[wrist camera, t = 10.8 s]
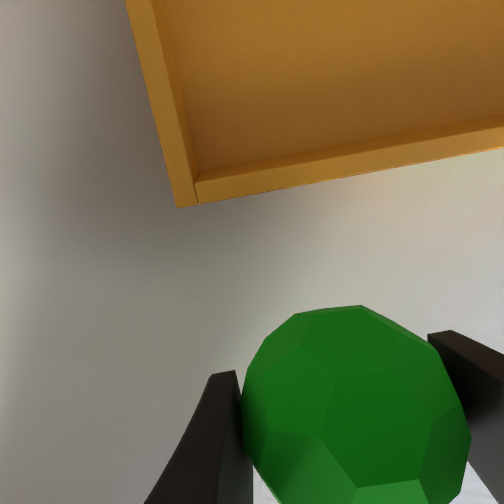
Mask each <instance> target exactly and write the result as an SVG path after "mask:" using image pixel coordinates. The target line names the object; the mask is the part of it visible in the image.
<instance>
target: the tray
mask: <svg viewBox="0 0 504 504" xmlns="http://www.w3.org/2000/svg"><path fill="white" fill-rule="evenodd" d="M124 1H125V5H126V8H127V12H128V16H129V20H130V24H131V28H132V32H133V36H134V40H135V44H136V48H137V52H138V56H139V60H140V64H141V68H142V72H143V76H144V80H145V84H146V88H147V92H148V96H149V100H150V104H151V108H152V112H153V116H154V120H155V124H156V128H157V132H158V136H159V140H160V144H161V148H162V152H163V156H164V160H165V164H166V168H167V172H168V176H169V180H170V183H171V187H172V191H173V195H174V199H175V203H176V207H177V208H183V207H188V206H194V205H197V204H198V203H199V204H205V203H210V202H215V201H221V200H226V199H231V198H237V197H242V196H247V195H253V194H258V193H264V192H269V191H274V190H280V189H285V188H290V187H296V186H301V185H306V184H312V183H317V182H322V181H328V180H333V179H338V178H344V177H349V176H354V175H360V174H365V173H370V172H376V171H381V170H386V169H392V168H397V167H402V166H408V165H413V164H418V163H424V162H429V161H434V160H440V159H445V158H450V157H456V156H461V155H466V154H472V153H477V152H482V151H488V150H493V149H498V148H504V0H124Z"/></svg>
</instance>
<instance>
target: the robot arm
mask: <svg viewBox="0 0 504 504" xmlns="http://www.w3.org/2000/svg"><path fill="white" fill-rule="evenodd" d="M427 339H428V343H430V344H431V345H432V346H433V347H434V348H435V349H436V350H437V351H438V354H439V356H440V358H441V360H442V362H443V365H444V367H445V369H446V371H447V374H448V376H449V378H450V380H451V382H452V385H453V387H454V389H455V391H456V393H457V396H458V398H459V400H460V402H461V405H462V408H463V411H464V414H465V418H466V421H467V424H468V427H469V430H470V433H471V436H472V441H471V445H470V450H469V454H468V459H467V461H468V462H469V463H470V465H471V466H472V468H473V469H474V470H475V472H476V473H477V475H478V476H479V477H480V479H481V480H482V481H483V483H484V484H485V486H486V487H487V488H488V490H489V491H490V492H491V494H492V495H493V497H494V498H495V499H496V501H497V502H498V504H504V355H503V354H501V353H499V352H497V351H495V350H493V349H491V348H489V347H487V346H485V345H483V344H481V343H479V342H476V341H474V340H472V339H470V338H468V337H466V336H464V335H461V334H459V333H457V332H455V331H452V330H448V331H442V332H437V333H432V334H427ZM240 399H241V393H240V389H239V385H238V380H237V376H236V372H235V370H232V371H226V372H221V373H216V374H212V375H211V376H210V378H209V379H208V382H207V384H206V387H205V389H204V392H203V394H202V396H201V399H200V401H199V403H198V405H197V408H196V410H195V412H194V414H193V416H192V418H191V420H190V422H189V424H188V426H187V428H186V430H185V432H184V434H183V436H182V438H181V440H180V442H179V444H178V446H177V448H176V450H175V452H174V453H173V455H172V457H171V459H170V460H169V462H168V464H167V466H166V467H165V469H164V471H163V473H162V474H161V476H160V478H159V480H158V481H157V483H156V485H155V486H154V488H153V489H152V491H151V493H150V494H149V496H148V497H147V499H146V501H145V502H144V504H253V464H252V462H251V461H250V459H249V458H248V456H247V455H246V453H245V451H244V445H243V429H242V418H241V409H240Z"/></svg>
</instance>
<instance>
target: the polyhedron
mask: <svg viewBox="0 0 504 504" xmlns="http://www.w3.org/2000/svg"><path fill="white" fill-rule="evenodd" d="M240 409H241V418H242V429H243V445H244V451H245V453H246V455H247V456H248V458H249V459H250V461H251V462H252V464H253V466H254V467H255V469H256V470H257V472H258V473H259V475H260V477H261V478H262V480H263V481H264V482H265V484H266V485H267V487H268V488H269V489H270V491H271V492H272V494H273V495H274V497H275V498H276V499H277V501H278V502H279V504H449V503H450V502H451V501H452V500H453V499H454V498H455V497H456V496H457V495H458V494H459V493H460V491H461V486H462V481H463V477H464V472H465V468H466V463H467V459H468V454H469V450H470V445H471V441H472V436H471V433H470V430H469V427H468V424H467V421H466V418H465V414H464V411H463V408H462V405H461V402H460V400H459V398H458V396H457V393H456V391H455V389H454V387H453V385H452V382H451V380H450V378H449V376H448V374H447V371H446V369H445V367H444V365H443V362H442V360H441V358H440V356H439V354H438V351H437V350H436V349H435V348H434V347H433V346H432V345H431V344H430V343H428V342H427V341H425V340H423V339H422V338H420V337H418V336H417V335H415V334H413V333H412V332H410V331H408V330H407V329H405V328H404V327H402V326H400V325H399V324H397V323H395V322H394V321H392V320H390V319H388V318H386V317H384V316H382V315H380V314H378V313H376V312H374V311H372V310H370V309H368V308H366V307H364V306H362V305H356V306H345V307H335V308H324V309H318V310H313V311H308V312H303V313H297V314H294V315H293V316H292V317H290V318H289V319H288V320H287V321H286V322H284V323H283V324H282V325H281V326H279V327H278V328H277V329H276V330H275V331H273V332H272V333H271V334H270V335H269V336H267V337H266V338H265V340H264V341H263V343H262V345H261V346H260V348H259V350H258V352H257V353H256V355H255V357H254V358H253V360H252V362H251V364H250V365H249V367H248V369H247V373H246V377H245V382H244V386H243V390H242V395H241V399H240Z"/></svg>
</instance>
